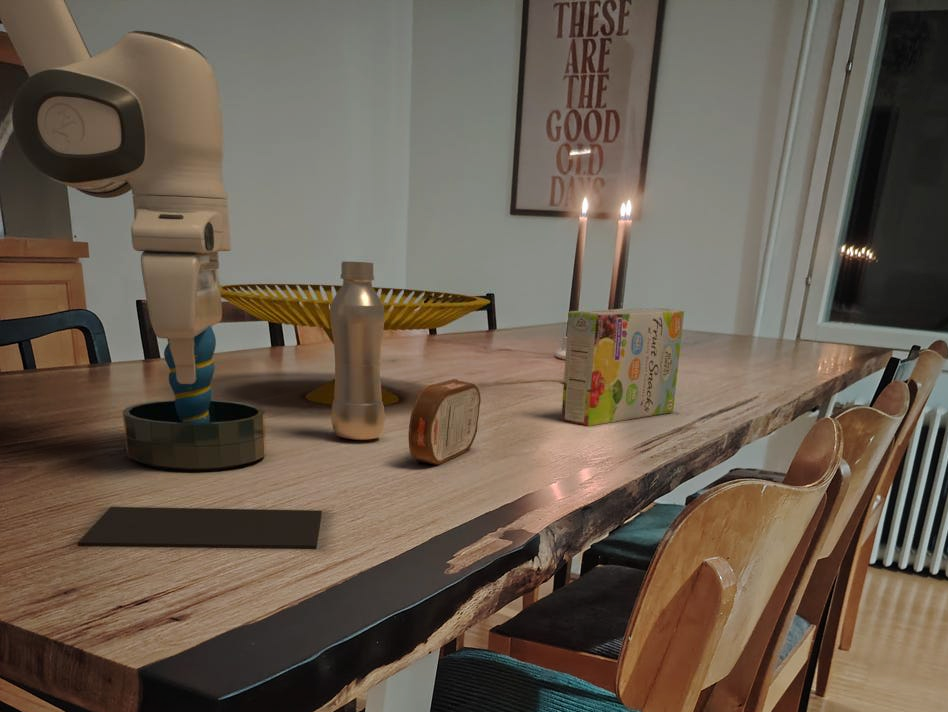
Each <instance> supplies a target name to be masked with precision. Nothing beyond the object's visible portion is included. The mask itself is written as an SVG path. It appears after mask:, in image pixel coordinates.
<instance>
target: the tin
mask: <svg viewBox="0 0 948 712" xmlns="http://www.w3.org/2000/svg"><path fill="white" fill-rule="evenodd" d="M480 407H481V392H480V390H479V388H478V386H477V385H476V384H475V383H472V382H468V381H463V380H458V379H457V378H452V379H449V380H444V381H440V382H436V383H431V384H428V385H426V386H424V387H423V389H422V390H421V391H420V392H419V394H418V396H417V397H416V399H415V401H414V404H413V407H412V410H411V414H410V419H409V425H408V449H409V452H410V453H409V454H410V455H411V457H412V459H413V460H414V461H415V462H417V463H425V464H430V465H437V466H438V465H442V464H443V463H446V462H448V461H450V460H453V459H454V458H457V457H459V456H462V455H463V454H466V453H467V452H468V451H469V450H470V448H471V447H472V446H473V443H474V442H475V438H476V436H477V432H478V423H479V416H480Z"/></svg>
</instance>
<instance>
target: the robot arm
mask: <svg viewBox="0 0 948 712" xmlns="http://www.w3.org/2000/svg"><path fill="white" fill-rule="evenodd" d="M0 22H1V24H2V26H3V28H4V30H5V32H6V34H7V36H8V38H9V40H10V42H11V44H12V46H13V48H14V49H15V51H16V53H17V56H18V57H19V59H20V61H21V63H22V65H23V67H24V69H25V71H26V73H27V75H28V77H29V78H27V79H26V80H25V81H24V82H23V83H22V84H21V85H20V87H19V89H18V91H17V92H16V94H15V97H14V100H13V104H12V109H11V121H12V128H13V133H14V136H15V140H16V141H17V144H18V146H19V148H20V150H21V152H22V153H23V154H24V156H25V158H26V159H27V160H28V161H29V162H30V163H31V164H32V165H33V166H34V167H35V168H36V169H37V170H38V171H39V172H41V173H42V174H43V175H45V176H47V178H49V179H51V180H53V181H54V182H57V183H59V184H61V185H65V186H67V187H70V188H71V189H75V190H77V191H79V192H80V193H82V194H85V195H87V196H90V197H94V198H99V199H100V198H101V199H111V198H116V197H120V196H123V195H126V194H127V193H129V192H130V191H131V194H132V204H133V222H132V224H131V227H130V235H131V244H132V248H133V250H134V251H136V252H141V255H140V267H141V275H142V281H143V287H144V293H145V300H146V304H147V305H146V306H147V310H148V317H149V320H150V324H151V328H152V330H153V332H154V334H155V337H156V338H158V339H169V343H170V350H171V353H172V357H173V360H174V363H175V367H176V377H177V381H178V382H179V383H180V384H193V383H194V382H195V381H196V380H197V378H198V377H197V364H195V356H194V347H195V345H194V337H195V336H197V335H198V334H200V333H202V332H203V331H205V330H206V329H207V328H208V326H209V325H210V326H211V328H212V329H213V326H215V325H216V324H218V323H220V322H221V321H222V318H223V302H222V297H221V291H220V286H221V282H220V274H219V268H220V260H219V258H220V257H219V252H230V251H231V250H232V245H231V244H232V243H231V229H230V228H231V227H230V214H229V213H230V212H229V211H230V210H229V201H228V192H227V189H226V186H225V183H224V179H223V172H222V170H223V169H222V168H223V160H224V155H225V138H224V125H223V115H222V106H221V99H220V92H219V88H218V84H217V83H218V82H217V78H216V75H215V71H214V69H213V66H212V65H211V63H210V61H208V60H207V58H206V56H205V55H204V54H203V53H201V52H200V51H199V50H198V49H197V48H196V47H194V46H193V45H191V44H189V43H187V42H184V41H183V40H181V39H178V38H175V37H172V36H169V35H165V34H163V33H159V32H158V33H157V32H153V31H144V30H133V31H127V32H126V33H125V34H124V35H123V36H122V37H121V39H119V40H118V41H117V42H116V43H115V44H113V45H111V46H110V47H108V48H107V49H105V50H103V51H102V52H100V53H97V54H95V55H93V56H92V55H91V53H90V51H89V49H88V47H87V45H86V43H85V41H84V38H83V37H82V34H81V32H80V29H79V28H78V26H77V23H76V22H75V19H74V17H73V15H72V13H71V11H70V9H69V7H68V5H67V2H66V0H0Z"/></svg>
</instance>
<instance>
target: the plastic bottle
mask: <svg viewBox="0 0 948 712" xmlns="http://www.w3.org/2000/svg"><path fill="white" fill-rule="evenodd" d="M340 266H341V270H340V271H341V274H340V279H342V285H341V286H342V287H341V288H340V289H339V291H338V292H337V294H335V295H334V296H333V301H332V303H331V307H330V306H329V310H330V319H331V327H332V334H333V341H334V344H333V351H334V359H335V358H336V361H335V360H334V363H335V364H334V369H335V368H336V373H335V372H334V379H335V389H334V397H335V398H334V399H333V404H332V405H331V412H330V420H331V425H332V430H333V432H334V433H335V435H336V436H338V437H341V438H344V439H347V440H352V441H368V440H373V439H378V438H380V437H381V435H382V433H383V432H384V429H385V423H386V415H385V407H384V406H385V405H383V401H382V400H381V399H382V395H381V387H382V382H381V362H380V361H381V358H382V357H381V355H382V342H383V335H384V330H383V328H384V321H385V311H384V307H383V304H382V302H381V300H380V296H379V295H378V292H377V293H376V292H375V290H374V289H373V287H374V286H373V283H372V281H375V275H374V262H365V261H347V260H346V261H341V265H340Z"/></svg>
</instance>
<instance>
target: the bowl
mask: <svg viewBox="0 0 948 712" xmlns="http://www.w3.org/2000/svg"><path fill="white" fill-rule="evenodd" d="M208 411H209V416H210V420H209V423H181V421H180V419H179V416H178V413H177V411H176V407H175V399H171V400H155V401H149V402H141V403H138V404H134V405H130V406H127V407H126V408H124V409H123V410H122V411H121V412H122V421H123V430H124V441H125V451H126V454H127V457H128V458H129V459H131V460H134V461H136V462H137V463H140V464H142V465H145V466H148V467H151V468H156V469H162V470H169V471H182V472H183V471H185V472H205V471H206V472H208V471H221V470H229V469H235V468H240V467H243V466H247V465H250V464H252V463H254V462H256V461H258V460H260V459H261V458H264V457H265V456H266V453H267V439H266V438H267V437H266V416H265V415H266V413H265V411H264V410H263V409H262V408H261V407H259V406H255V405H253V404H248V403H243V402H237V401H227V400H218V399H211V401H210V405H209V408H208Z"/></svg>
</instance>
